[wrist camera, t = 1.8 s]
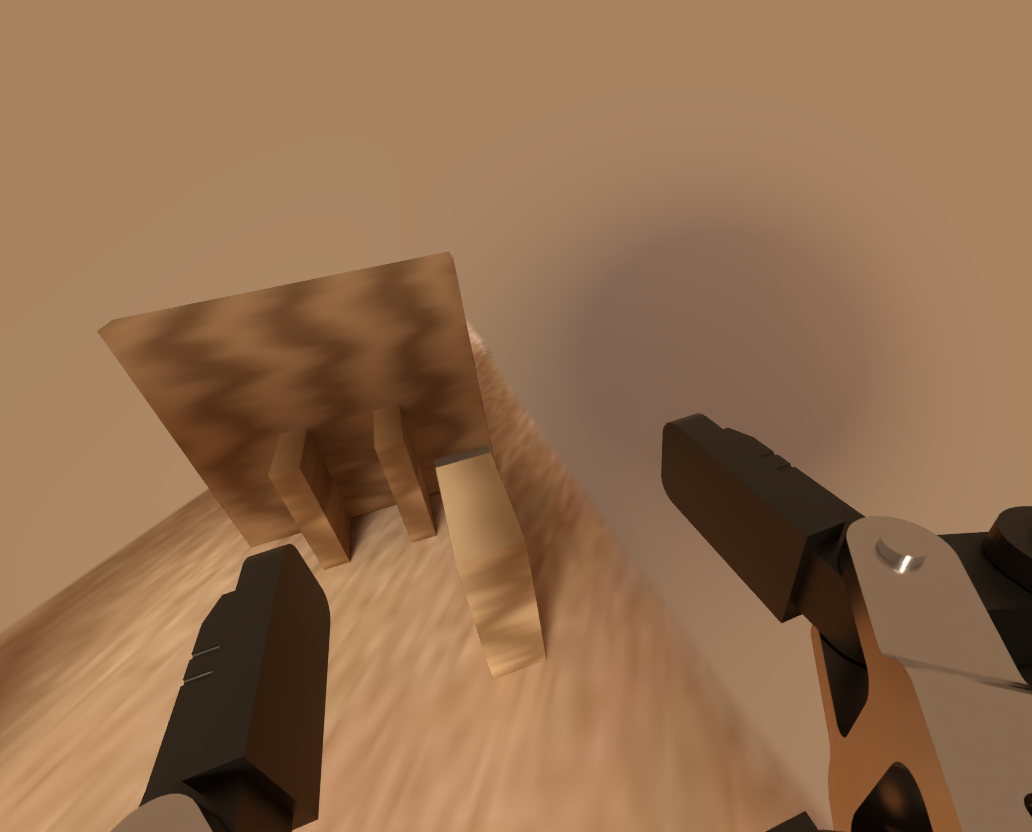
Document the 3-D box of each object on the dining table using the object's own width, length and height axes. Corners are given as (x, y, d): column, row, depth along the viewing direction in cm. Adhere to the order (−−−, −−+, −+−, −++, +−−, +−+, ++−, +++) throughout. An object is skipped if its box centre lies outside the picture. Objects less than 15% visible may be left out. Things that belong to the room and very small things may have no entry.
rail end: (492, 679, 26) (455, 563, 20) (467, 572, 33) (433, 459, 27) (546, 659, 27) (525, 540, 21) (511, 558, 34) (487, 444, 27)
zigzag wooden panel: (237, 596, 34) (49, 366, 23) (255, 530, 39) (112, 319, 28) (511, 511, 37) (466, 276, 26) (492, 462, 43) (448, 251, 32)
